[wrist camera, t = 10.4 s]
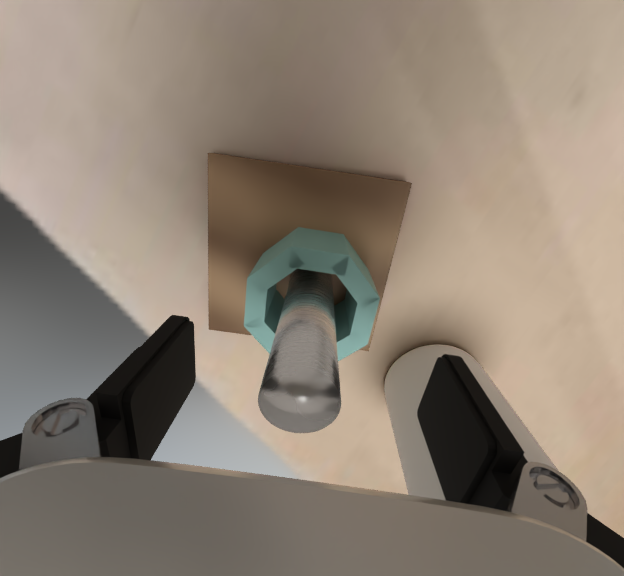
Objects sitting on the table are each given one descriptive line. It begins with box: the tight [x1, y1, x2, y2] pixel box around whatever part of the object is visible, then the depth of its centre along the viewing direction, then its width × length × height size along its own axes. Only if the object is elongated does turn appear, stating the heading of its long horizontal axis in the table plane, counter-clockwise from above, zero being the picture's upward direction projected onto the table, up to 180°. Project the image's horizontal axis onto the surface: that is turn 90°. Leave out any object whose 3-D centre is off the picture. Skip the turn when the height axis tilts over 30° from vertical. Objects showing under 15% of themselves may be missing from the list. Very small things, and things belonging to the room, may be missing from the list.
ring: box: [244, 227, 380, 361], centre depth 18 cm, size 7×7×4 cm
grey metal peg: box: [258, 269, 341, 433], centre depth 15 cm, size 3×3×11 cm
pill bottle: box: [384, 344, 588, 513], centre depth 18 cm, size 8×8×15 cm
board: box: [208, 153, 412, 351], centre depth 20 cm, size 12×12×1 cm
